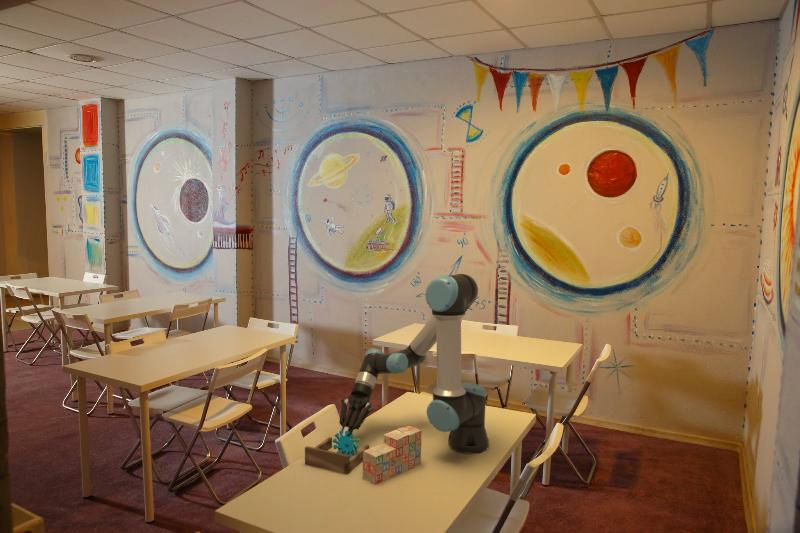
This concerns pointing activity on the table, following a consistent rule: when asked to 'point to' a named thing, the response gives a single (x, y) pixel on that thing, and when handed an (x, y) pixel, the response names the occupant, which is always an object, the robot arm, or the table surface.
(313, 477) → the table surface
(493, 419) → the table surface
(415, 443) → the stack of blocks
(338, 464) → the wooden u-shaped enclosure
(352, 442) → the gear
